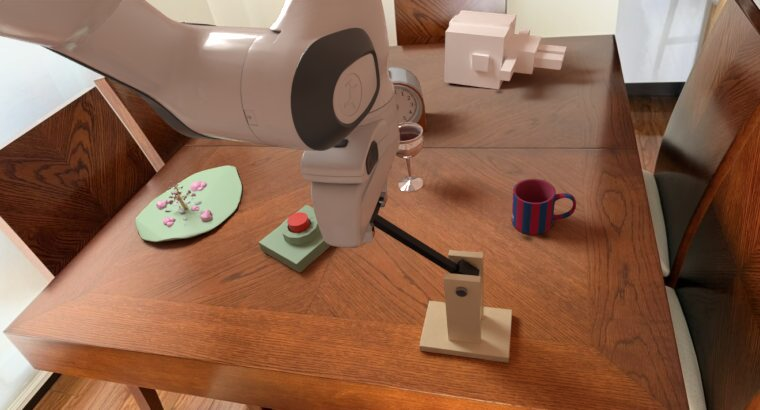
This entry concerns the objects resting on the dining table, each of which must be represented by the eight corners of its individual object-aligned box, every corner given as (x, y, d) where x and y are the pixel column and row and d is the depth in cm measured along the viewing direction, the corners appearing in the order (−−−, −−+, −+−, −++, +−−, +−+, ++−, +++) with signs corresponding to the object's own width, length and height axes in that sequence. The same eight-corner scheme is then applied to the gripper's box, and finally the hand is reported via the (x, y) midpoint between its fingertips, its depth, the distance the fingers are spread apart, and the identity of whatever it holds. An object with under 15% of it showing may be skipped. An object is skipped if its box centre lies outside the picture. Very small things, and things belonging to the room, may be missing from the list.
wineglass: (407, 199, 96) (400, 146, 88) (387, 183, 100) (379, 132, 93) (435, 184, 98) (430, 131, 90) (414, 169, 103) (408, 118, 95)
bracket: (419, 350, 70) (410, 284, 61) (429, 305, 75) (422, 239, 67) (508, 363, 66) (512, 295, 58) (512, 314, 72) (515, 246, 63)
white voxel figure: (550, 111, 116) (434, 94, 125) (564, 64, 133) (461, 52, 142) (561, 50, 106) (435, 37, 115) (575, 8, 123) (464, -1, 132)
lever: (357, 234, 60) (367, 223, 58) (368, 207, 63) (377, 196, 62) (464, 300, 63) (477, 291, 61) (469, 270, 66) (481, 261, 65)
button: (299, 236, 86) (297, 228, 85) (285, 228, 88) (283, 221, 87) (314, 223, 88) (311, 216, 87) (300, 217, 90) (297, 209, 89)
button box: (299, 273, 84) (293, 256, 82) (261, 251, 90) (255, 234, 87) (346, 231, 91) (342, 214, 88) (308, 213, 96) (304, 196, 94)
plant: (172, 170, 115) (156, 137, 109) (258, 165, 112) (245, 131, 106) (118, 248, 96) (95, 212, 90) (219, 245, 93) (202, 208, 87)
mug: (514, 207, 90) (516, 176, 85) (574, 214, 86) (579, 183, 82) (508, 232, 85) (509, 201, 81) (571, 241, 82) (575, 209, 77)
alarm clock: (362, 140, 114) (351, 85, 105) (361, 121, 120) (352, 68, 112) (427, 131, 113) (422, 75, 104) (423, 113, 120) (418, 59, 111)
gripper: (354, 76, 61) (370, 169, 69) (292, 178, 46) (322, 280, 54) (405, 75, 59) (415, 171, 68) (357, 181, 44) (378, 285, 53)
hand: (373, 220), depth 61 cm, fingers closed on lever, 5 cm apart
